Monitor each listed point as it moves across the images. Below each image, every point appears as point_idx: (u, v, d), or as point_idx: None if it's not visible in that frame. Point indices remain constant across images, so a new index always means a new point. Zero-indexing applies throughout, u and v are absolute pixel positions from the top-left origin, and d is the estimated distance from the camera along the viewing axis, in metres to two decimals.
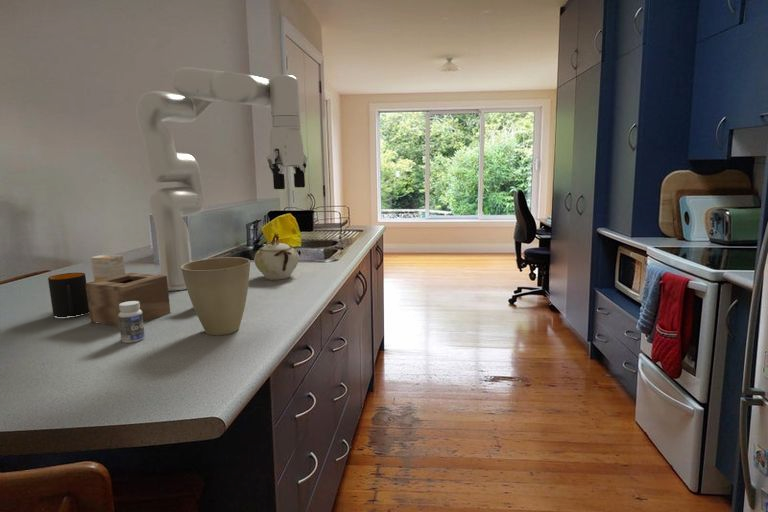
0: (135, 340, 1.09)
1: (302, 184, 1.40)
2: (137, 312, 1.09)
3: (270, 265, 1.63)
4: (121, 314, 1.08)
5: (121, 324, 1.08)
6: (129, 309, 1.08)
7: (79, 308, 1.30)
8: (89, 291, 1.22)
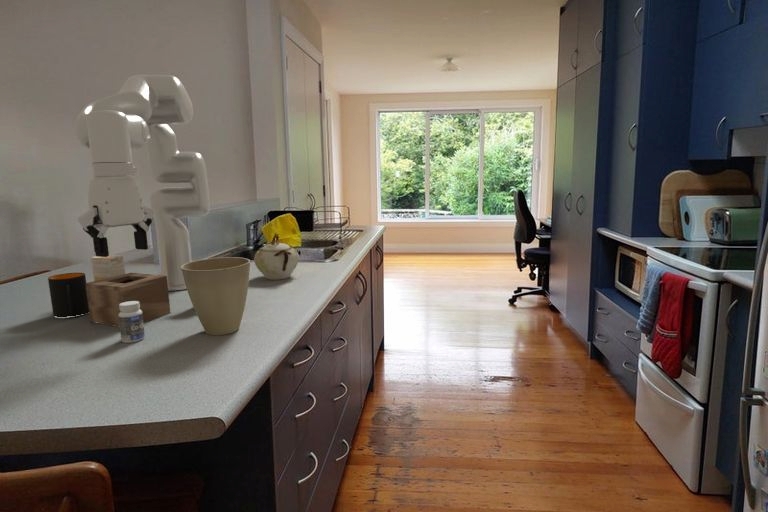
0: (135, 340, 1.09)
1: (143, 246, 1.11)
2: (137, 312, 1.09)
3: (270, 265, 1.63)
4: (121, 314, 1.08)
5: (121, 324, 1.08)
6: (129, 309, 1.08)
7: (79, 308, 1.30)
8: (89, 291, 1.22)
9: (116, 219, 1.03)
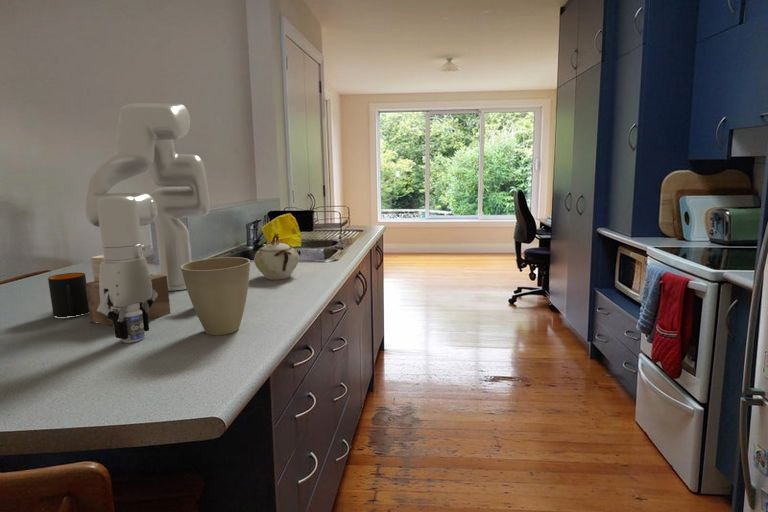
0: (135, 340, 1.09)
1: (145, 328, 1.12)
2: (137, 312, 1.09)
3: (270, 265, 1.63)
4: None
5: None
6: (129, 308, 1.08)
7: (79, 308, 1.30)
8: (89, 291, 1.22)
9: (126, 300, 1.06)
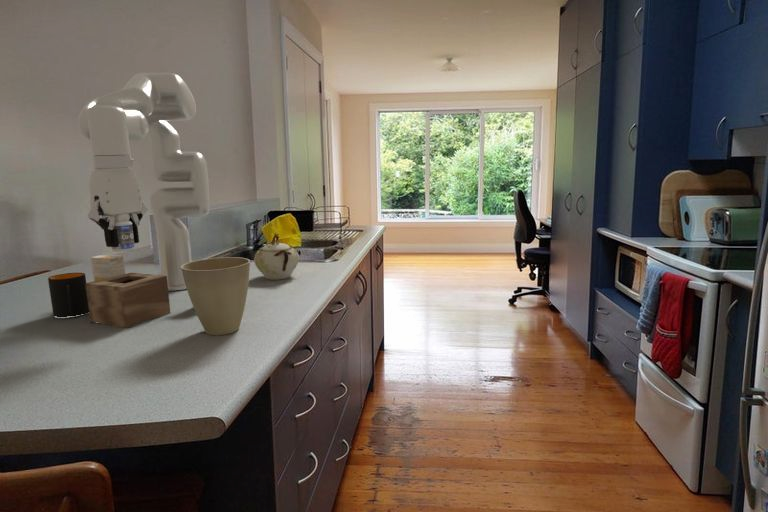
0: (125, 249, 1.13)
1: (134, 240, 1.16)
2: (127, 222, 1.13)
3: (270, 265, 1.63)
4: None
5: None
6: (119, 218, 1.11)
7: (79, 308, 1.30)
8: (89, 291, 1.22)
9: (116, 208, 1.10)
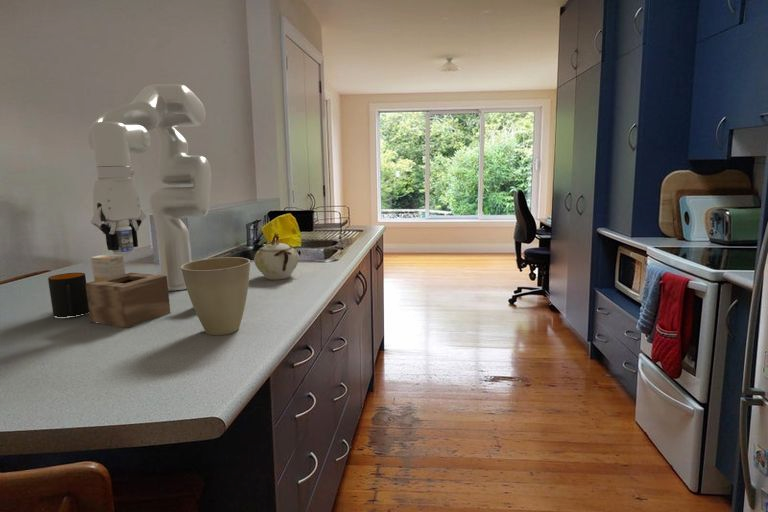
0: (125, 252, 1.23)
1: (134, 244, 1.26)
2: (127, 227, 1.23)
3: (270, 265, 1.63)
4: None
5: None
6: (119, 223, 1.21)
7: (79, 308, 1.30)
8: (89, 291, 1.22)
9: (117, 215, 1.20)
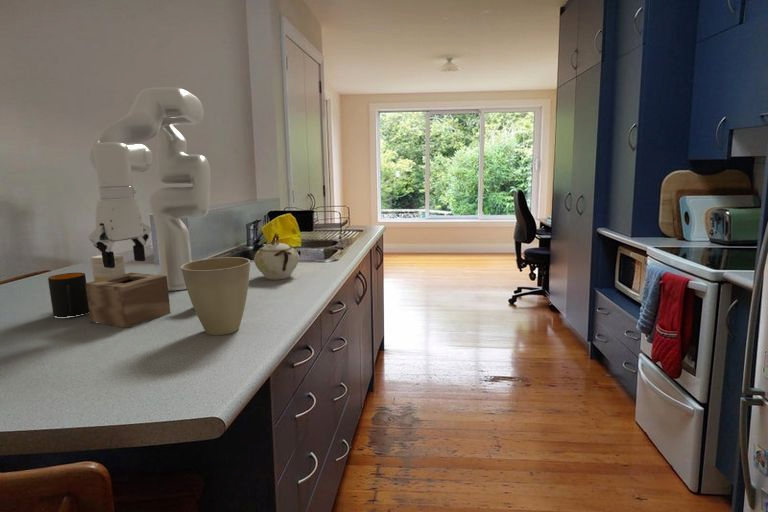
0: None
1: (141, 258, 1.28)
2: None
3: (270, 265, 1.63)
4: None
5: None
6: None
7: (79, 308, 1.30)
8: (89, 291, 1.22)
9: (119, 234, 1.21)
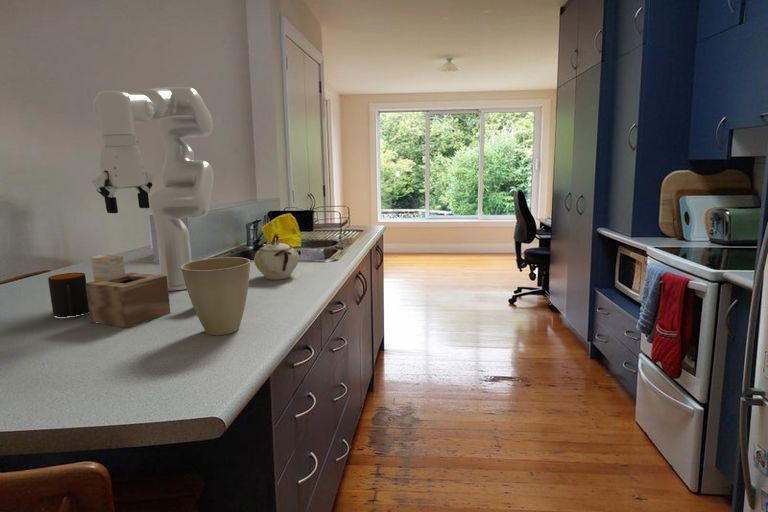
0: None
1: (146, 205, 1.33)
2: None
3: (270, 265, 1.63)
4: None
5: None
6: None
7: (79, 308, 1.30)
8: (89, 291, 1.22)
9: (123, 182, 1.25)
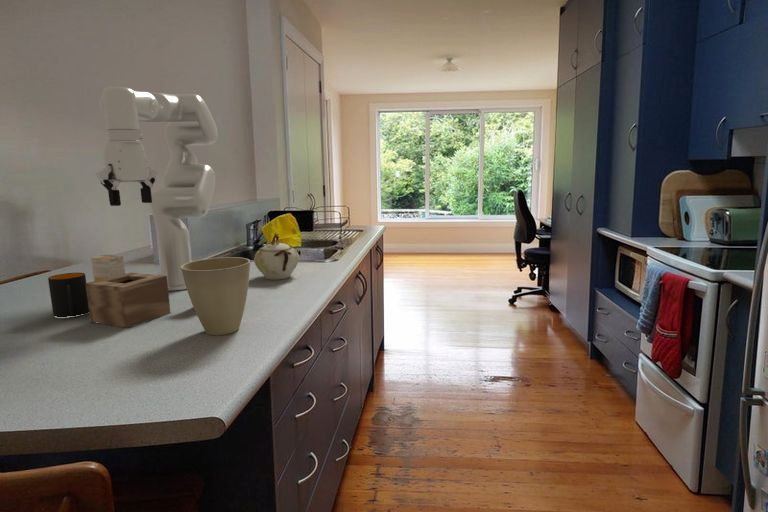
0: None
1: (148, 200, 1.35)
2: None
3: (270, 265, 1.63)
4: None
5: None
6: None
7: (79, 308, 1.30)
8: (89, 291, 1.22)
9: (126, 175, 1.28)
